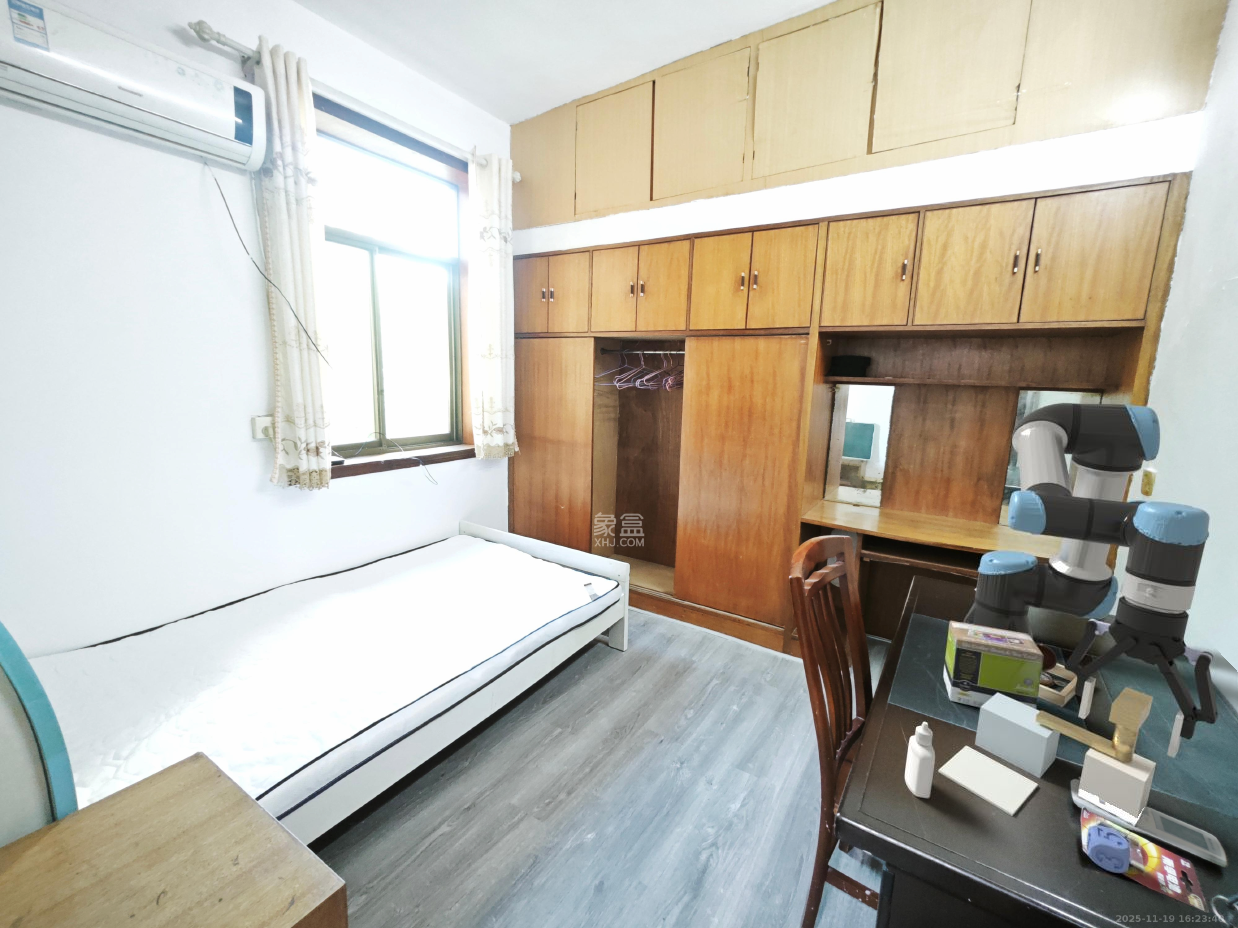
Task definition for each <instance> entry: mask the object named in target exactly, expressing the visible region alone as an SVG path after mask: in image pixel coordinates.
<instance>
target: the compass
mask: <svg viewBox="0 0 1238 928" xmlns="http://www.w3.org/2000/svg"><path fill="white" fill-rule="evenodd" d="M1035 644H1036V645H1037V647H1038V648H1039V650H1040V651H1041V653H1042V654H1043V655H1044V656H1043V665H1042V672H1041V679H1040V685H1043V686H1045V687H1048V688H1050V687H1053V686H1054V685H1055V684H1056V685H1059V686H1061V687H1066V683H1065V682H1063V681H1060V680H1055V679H1054V678H1053V677H1051V676H1050V675H1049V674H1048V673H1046V672H1047V671H1048V670H1051V669H1052V668H1054V667H1055V666H1056V664H1057V663H1058V657H1057V654H1056V653H1055V651H1054V650H1053V649H1052V648H1051V647H1049V645H1048V646H1047V645H1045V644H1043V643H1039V642H1038V643H1036V642H1035ZM1059 683H1062V684H1059Z"/></svg>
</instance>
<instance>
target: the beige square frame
mask: <svg viewBox="0 0 1238 928" xmlns="http://www.w3.org/2000/svg"><path fill="white" fill-rule="evenodd" d="M1046 672H1048V673H1050V674H1053V675H1055V676H1058V677H1060V678H1063V679H1065V680H1068V681H1070V682H1069V683H1068V684H1067V685H1065V686H1064V688H1063V689H1062V690H1061V691H1060V692H1059V691H1057V690H1055V689H1053V688H1050V687H1045V686H1043V685H1040V686H1039V693H1038V698H1040V699H1042V700H1044V701H1047V702H1050V703H1051V704H1053V705H1056V706H1059V707H1061V708H1064V706H1065V705H1066V704H1067V703H1068V702H1069V701H1070V700H1071V699H1072V698H1073V697H1074V696H1075V695H1076V694H1075V687H1076V682H1077V676H1076V675H1075V674H1074V673H1073V672H1071V671H1068V670H1066V669H1065V667H1064V665H1062V664H1060V663H1058V662H1057V664H1056V666H1055V667H1054V668H1052V669H1051V670H1048V671H1046Z"/></svg>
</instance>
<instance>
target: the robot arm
mask: <svg viewBox="0 0 1238 928" xmlns="http://www.w3.org/2000/svg"><path fill="white" fill-rule="evenodd" d="M1011 443H1012V447H1013V450H1014V451H1015V452H1016V453H1017V454H1018V465H1019V482H1020V490H1015V491H1013V492H1012V493H1011V496H1010V498H1009V504H1008V512H1007V525H1008V527H1009V528H1010V529H1012V530H1013V531H1019V532H1023V533H1029V534H1031V535H1037V536H1038V535H1040V536H1047V537H1055V538H1061V541H1060V542H1061V543H1060V547H1059V550H1058V551H1059V552H1058V553H1055V554H1053V555H1051V556H1050V557H1049V559H1048V562H1047V563H1045V562H1044V563H1043V562H1039V561H1038V558H1037V557H1036V556H1035V555H1032V554H1030V553H1025V552H1021V551H1018V550H1017V551H1016V550H994V551H993V550H992V551H988V552H986V553H985V554H983V555H982V556H981V559H980V563H979V567H978V569H977V571H978V578H977V584H976V588H975V589H976V591H975V594H974V595H975V596H974V602H973V604H972V606H971V607H970V609H969V611H968V613H967V614H966V615H965V617H964V619H963V623H967V624H973V625H979V626H985V627H991V628H996V629H1002V630H1008V631H1014V632H1020V633H1026V634H1030V637H1031V638H1032V640H1033V641H1034V636H1033V632H1032V627H1031V623H1030V619H1029V610H1030V607H1031V608H1034V609H1035V608H1036V609H1039V610H1046V611H1050V612H1056V613H1060V614H1064V615H1065V614H1066V615H1068V616H1069V615H1071V616H1075V617H1076V618H1080V619H1082V618H1083V619H1084V618H1085V619H1089V620H1088V621H1087V622H1086V623H1085V634H1084V635H1083V636H1082V638H1081V639H1080V641H1079V643H1078V644H1077V646H1076V647H1075V649H1074V650H1073V651H1072V653H1071V655H1070V656H1069V657H1068V658H1067V661H1066V662H1065V664H1064V665H1063V666H1064V667H1065V669H1066V670H1068V671H1071V672H1073V673H1074V674H1075V675H1076V676H1077V682H1076V687H1075V695H1076V696H1079V697H1081V702H1080V705H1079V706H1080V707H1079V711H1078V718H1081V719H1083V720H1085V719H1086V718H1087V717H1088V716H1089V714H1090V712H1091V706H1092V701H1093V696H1094V692H1095V691H1094V690H1095V687H1096V680H1097V679H1096V678H1095V677H1092V675H1093V674H1095V673H1096V672H1098V671H1099V670H1101V669H1103V667H1104V668H1105V666H1107V665H1108V664H1109V663H1111V662H1112V661H1114V660H1115V659H1117V658H1119V657H1120V656H1122V655H1123V654H1125V655H1126V657H1128V658H1130V659H1131V658H1132V659H1136V660H1140V661H1143V662H1144V663H1147V664H1149V665H1152V666H1155V665H1156V666H1157V668H1158V670H1159V672H1160V673H1161V674H1162V675H1163V677H1164V679H1165V681H1166V682H1167V683H1166V684H1167V685H1168V687H1169V689H1170V691H1171V693H1172V695H1173V697H1174V699H1175V702H1176V703H1177V705H1178V706H1179V710H1178V712H1177V713H1176V715H1175V719H1174V724H1173V727H1172V731H1171V735H1170V741H1169V745H1168V749H1167V753H1166V755H1167V756H1169V757H1172V758H1174V759H1175V757H1176V756H1177V753H1178V751H1179V749H1180V744H1181V739H1186V740H1189V741H1190V740H1191V739H1192V738H1193V737H1194V735H1195V732H1196V731H1195V730H1196V726H1197V722H1205V723H1207V724H1209V725H1214V724H1215V723H1216V721H1217V720H1218V717H1219V712H1218V707H1217V702H1216V696H1215V691H1214V685H1213V681H1212V679H1213V678H1212V676H1211V669H1210V667H1211V664H1212V661H1213V659H1214V655H1213V654H1212V652H1209V651H1207V650H1206V651H1202V652H1201V651H1199V650H1197V649H1194V648H1190V647H1188V646H1187V644H1186V643H1185V634H1186V630H1187V626H1188V621H1189V617H1190V614H1189V613H1188V612H1187V611H1190V610H1191V607H1192V602H1193V599H1194V595H1195V591H1196V586H1197V581H1198V576H1199V571H1200V567H1201V562H1202V558H1203V555H1204V550H1205V545H1206V542H1207V540H1208V539H1209V537H1210V531H1209V526H1210V519H1211V517H1210V515H1209V513H1208V512H1207V511H1205V510H1203V509H1202V508H1200V507H1194V506H1192V505H1191V506H1190V505H1187V504H1181V503H1176V502H1167V501H1166V502H1165V501H1148V500H1141V499H1136V500H1135V499H1134V500H1128V501H1123V500H1124V496H1125V492H1126V489H1127V485H1128V481H1129V478H1130V475H1132V474H1134V473H1137V472H1140V471H1141V470H1142V467H1143V463H1144V461H1145V462H1150V461H1155V460H1156V459H1157V457H1158V454H1159V451H1160V445H1161V428H1160V421H1159V417H1158V414H1157V412H1156V411H1155V410H1154V409H1153V408H1151V407H1148V406H1142V405H1130V404H1127V403H1126V404H1125V403H1124V404H1113V403H1112V404H1111V403H1110V404H1109V403H1076V402H1075V403H1072V402H1060V403H1052V404H1049V405H1045V406H1042V407H1040V408H1037V409H1035V410H1033V411H1031V412H1030V413H1028V414H1026V415H1025V416H1024V417H1022V418H1021V419H1020V420H1019V421H1018V423H1016V425H1015V427H1014V428H1013V432H1012V435H1011ZM1066 455H1072V456H1071V462H1072V463H1073V465H1075V466H1076V467H1077V473H1076V478H1075V482H1074V486H1073V489H1072V485H1071V484H1072V483H1071V479H1070V474H1069V468H1068V464H1067V459H1066ZM1111 546H1117V547H1123V548H1128V554H1127V558H1126V559H1127V560H1126V564H1125V568H1124V572H1123V577H1122V582H1121V587H1120V594H1121V597H1119V598H1118V597H1117V595H1118V592H1119V582H1118V579H1117V577H1116V576H1115V575H1113V570H1112V569H1111V568H1110V567H1109V566H1108V565H1107V564H1106V563H1107V559H1108V556H1109V552H1110V548H1111ZM1122 595H1123V596H1122ZM1117 598H1118V603H1117V608H1116V612H1115V617H1114V620H1113V622H1111V623H1108V622H1104V621H1100V619H1104V618H1106V617H1107V616H1109V614H1110V613H1111V612H1112V610H1113V608H1114V606H1115V604H1116V600H1117ZM1105 632H1109V634H1110V635H1111V637H1112V639H1113V640H1114V642H1115V643H1116V644H1115V645H1113V646H1112V647H1111V648H1109V649H1108V650H1106V651H1105V652H1103V653H1102V654H1101V655H1100V656H1098V657H1097V658H1095V659H1094V660H1093V661H1092V660H1091V662H1089V663H1088V664H1087V665H1085V666H1082V665H1080V663H1081V661H1082V660H1083V658H1084V657H1085V655H1086V654H1087V652H1088V651H1089V649H1091V646H1092V645H1093V643H1094V642H1095V640H1096V639H1097V638H1098V636H1102V635H1103V634H1105ZM1182 655H1184V656H1185V657H1187V658H1188V663H1189V664H1190V665H1192V666H1194V668H1193V669H1194V670H1193V671H1194V679H1195V682H1196V688H1197V694H1198V695H1197V696H1198V701H1199V705H1200V709H1199V708H1198V707H1197V705H1196V703H1195V701H1194V699H1193V697H1192V695H1191V693H1190V691H1189V689H1188V688H1187V685H1186V684H1185V682H1184V679H1183V677H1182V676H1181V673H1180V671H1179V670H1178V667H1177V664H1176V662H1175V659H1177V658H1179V657H1181V656H1182Z"/></svg>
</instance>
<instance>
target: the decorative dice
mask: <svg viewBox="0 0 1238 928" xmlns="http://www.w3.org/2000/svg"><path fill="white" fill-rule="evenodd" d="M1130 849H1131V847H1130V843H1129V841H1128V840H1127V839H1126V838H1125V837H1124V836H1122V835H1121V834H1120V833H1119V832H1117V831H1115V830H1114V829H1112V828H1110V827H1107V826H1104V825H1099V824H1096V825H1091V826H1089V827H1088V831H1087V836H1086V854H1087V856H1088V857H1089V859H1091V861H1092V862H1094V863H1095V865H1097V866H1099V867H1100V868H1102V869H1104V870H1105V871H1108V872H1111V873H1116V874H1122V873H1127V872H1128V870H1129V868H1130V860H1131V858H1130V857H1131V850H1130Z"/></svg>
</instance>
